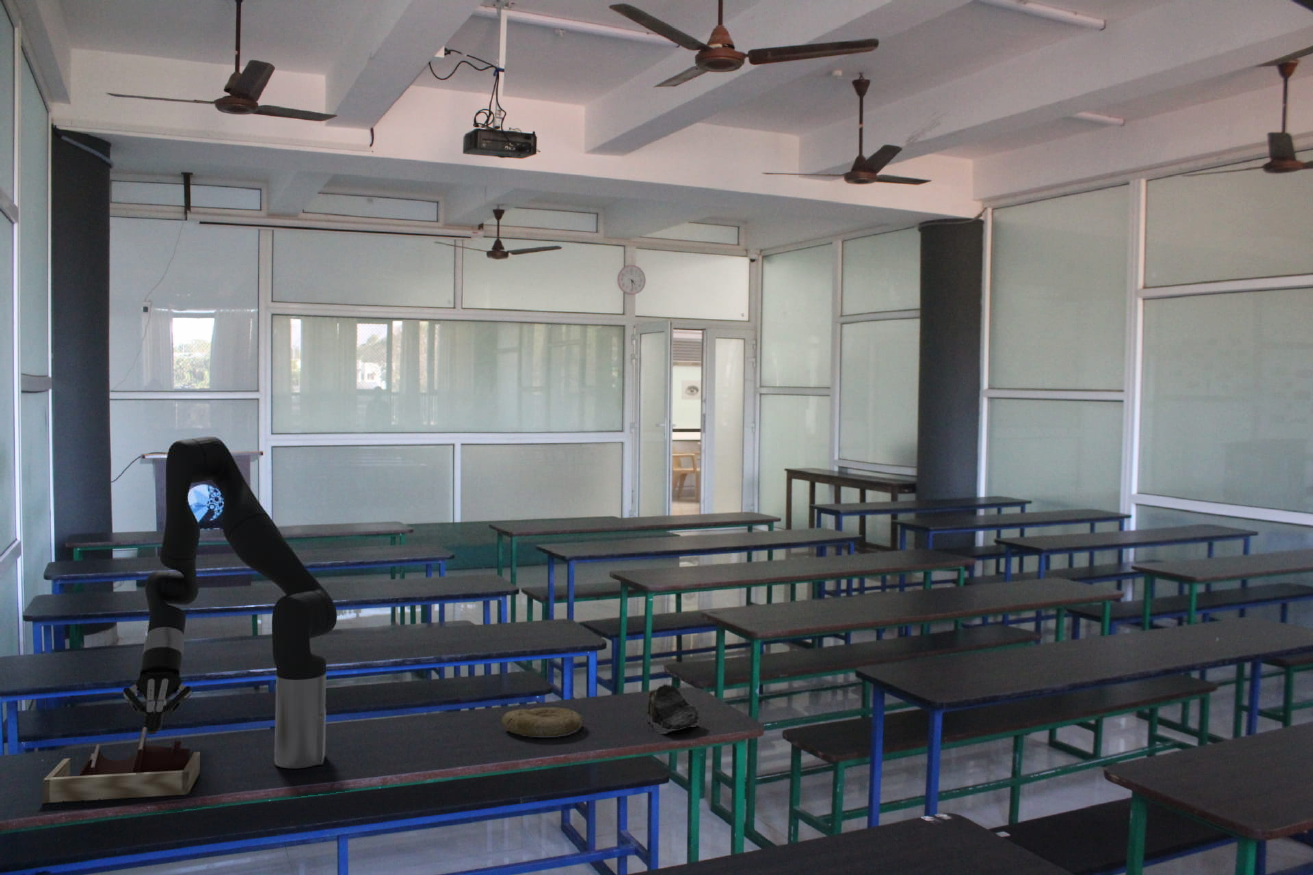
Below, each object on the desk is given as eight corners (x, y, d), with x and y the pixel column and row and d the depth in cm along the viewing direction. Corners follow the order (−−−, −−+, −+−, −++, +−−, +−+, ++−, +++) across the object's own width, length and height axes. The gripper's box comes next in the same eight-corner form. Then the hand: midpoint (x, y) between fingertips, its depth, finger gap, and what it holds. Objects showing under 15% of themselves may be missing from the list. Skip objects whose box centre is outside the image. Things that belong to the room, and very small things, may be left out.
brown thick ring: (546, 748, 210) (546, 727, 210) (495, 734, 219) (495, 713, 219) (597, 729, 224) (598, 709, 224) (547, 716, 233) (548, 696, 233)
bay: (199, 772, 189) (200, 751, 189) (187, 794, 179) (188, 771, 179) (63, 780, 184) (63, 758, 184) (43, 802, 173) (43, 779, 173)
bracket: (81, 766, 183) (93, 721, 181) (182, 774, 190) (194, 731, 188) (75, 789, 178) (87, 744, 175) (179, 796, 185) (191, 753, 182)
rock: (642, 718, 233) (640, 679, 230) (686, 709, 236) (685, 671, 233) (661, 751, 219) (660, 710, 217) (708, 741, 223) (707, 700, 220)
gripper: (126, 645, 204) (113, 725, 193) (197, 645, 208) (188, 722, 198) (128, 664, 209) (115, 742, 198) (197, 663, 214) (189, 739, 203)
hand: (152, 732), depth 198 cm, fingers closed
